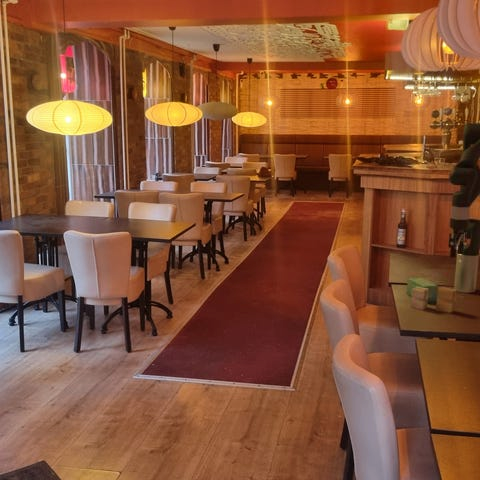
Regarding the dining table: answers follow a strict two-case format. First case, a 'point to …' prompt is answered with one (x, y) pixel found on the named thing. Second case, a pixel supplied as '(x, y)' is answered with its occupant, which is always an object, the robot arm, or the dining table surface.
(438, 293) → the oak pillar
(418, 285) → the box
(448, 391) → the dining table surface
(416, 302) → the birch pillar
